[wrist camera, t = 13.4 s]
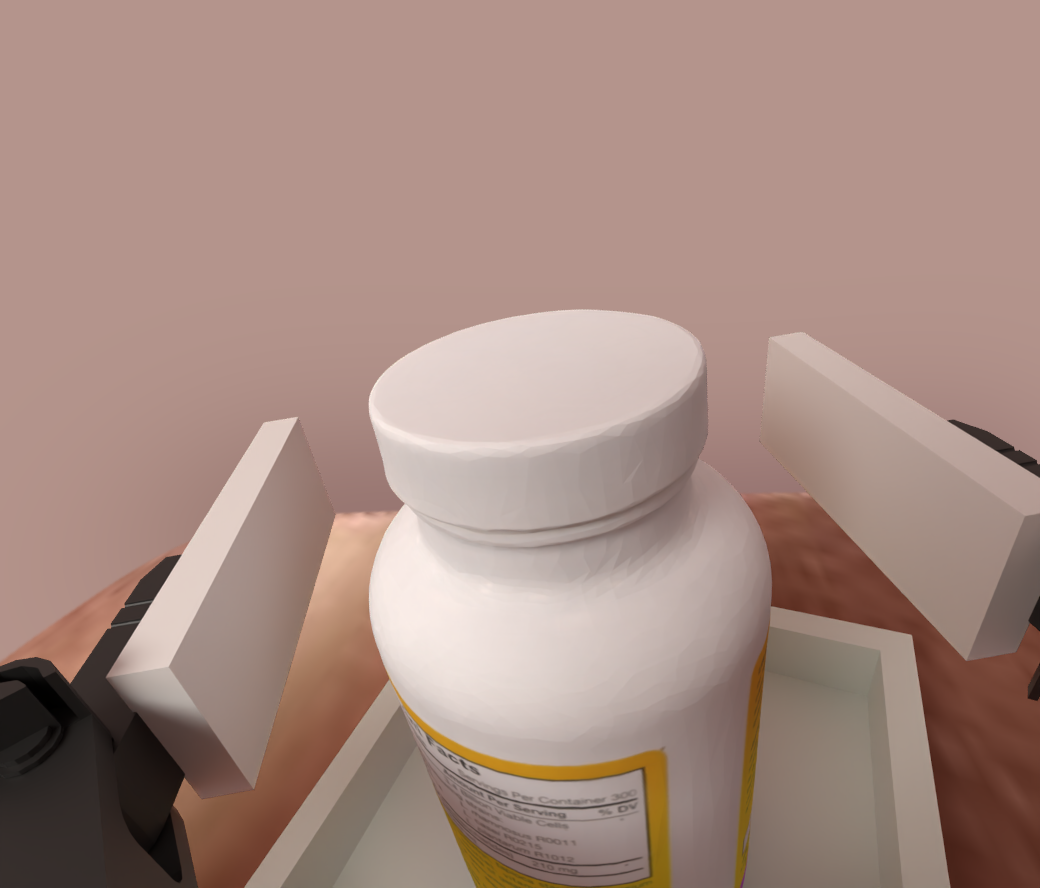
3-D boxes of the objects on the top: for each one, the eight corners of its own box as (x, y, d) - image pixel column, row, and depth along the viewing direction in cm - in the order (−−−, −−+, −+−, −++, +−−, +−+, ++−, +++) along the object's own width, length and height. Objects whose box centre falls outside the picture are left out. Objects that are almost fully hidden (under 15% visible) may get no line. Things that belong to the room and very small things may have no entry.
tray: (893, 691, 17) (911, 635, 16) (1001, 1665, 7) (1079, 1729, 5) (492, 594, 23) (481, 547, 21) (216, 1042, 12) (164, 1001, 11)
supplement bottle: (626, 675, 18) (594, 269, 12) (809, 880, 13) (931, 346, 6) (434, 793, 16) (263, 366, 9) (561, 1104, 10) (366, 615, 4)
